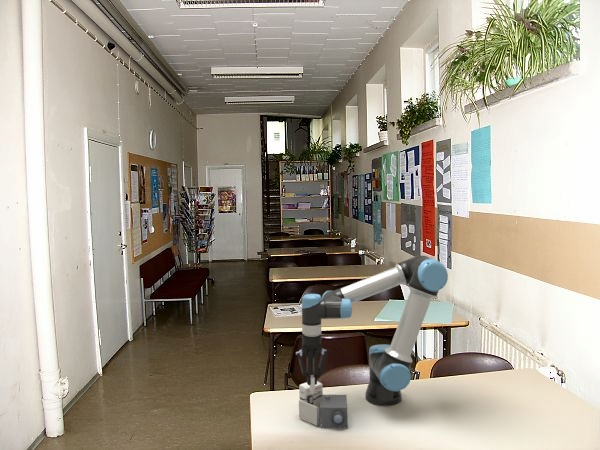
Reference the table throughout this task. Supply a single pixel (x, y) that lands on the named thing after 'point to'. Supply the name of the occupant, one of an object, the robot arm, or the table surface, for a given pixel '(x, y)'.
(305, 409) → the door
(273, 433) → the table surface
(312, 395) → the ink box
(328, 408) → the housing
